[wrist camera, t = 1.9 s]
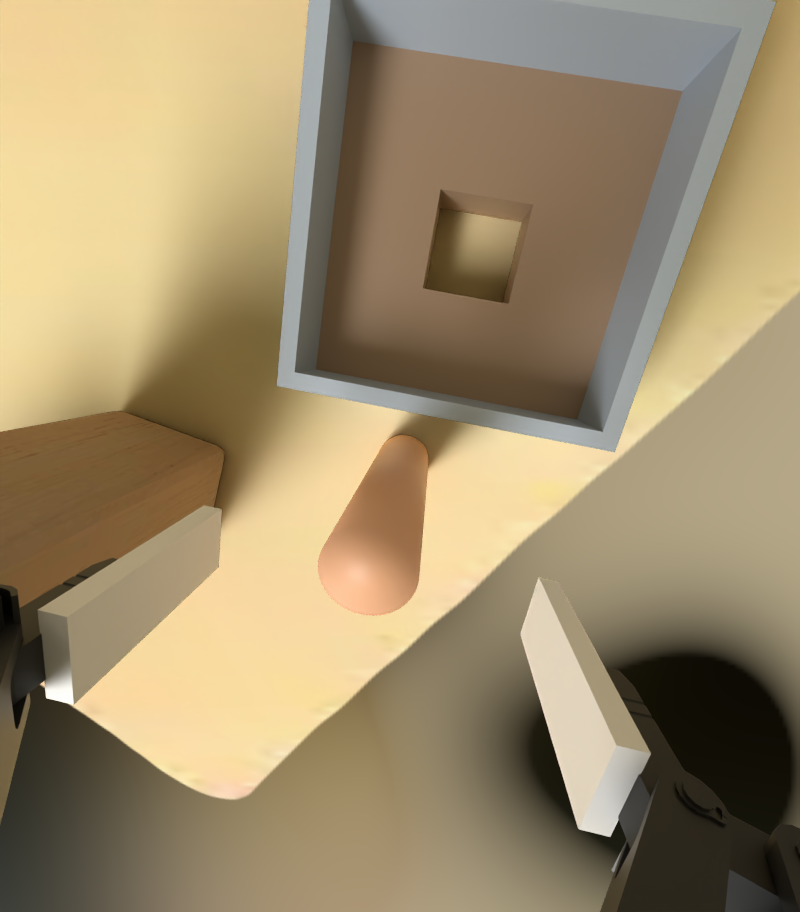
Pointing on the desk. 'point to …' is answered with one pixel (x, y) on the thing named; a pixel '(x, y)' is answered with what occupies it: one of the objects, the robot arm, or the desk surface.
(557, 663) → the robot arm
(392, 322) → the bore box
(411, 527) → the peg
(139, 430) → the wooden block
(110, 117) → the desk surface
